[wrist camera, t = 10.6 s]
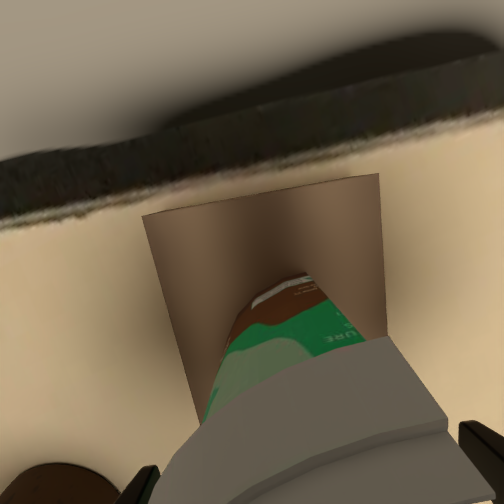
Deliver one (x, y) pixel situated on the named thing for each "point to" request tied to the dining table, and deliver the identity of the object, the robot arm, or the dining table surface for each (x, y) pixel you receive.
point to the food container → (316, 417)
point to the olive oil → (59, 487)
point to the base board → (266, 262)
